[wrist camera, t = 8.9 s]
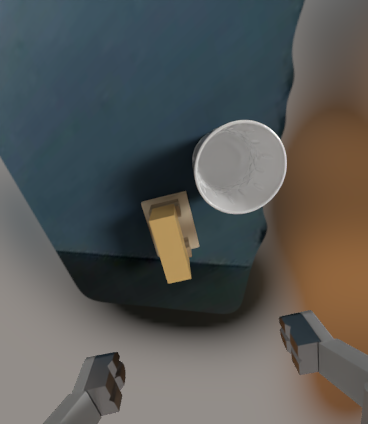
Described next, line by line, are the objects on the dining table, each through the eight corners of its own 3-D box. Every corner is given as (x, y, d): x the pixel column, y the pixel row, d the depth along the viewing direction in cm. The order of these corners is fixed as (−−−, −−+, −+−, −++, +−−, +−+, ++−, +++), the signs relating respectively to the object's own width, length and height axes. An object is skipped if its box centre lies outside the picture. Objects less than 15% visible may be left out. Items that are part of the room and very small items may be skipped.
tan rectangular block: (151, 208, 26) (147, 221, 22) (174, 203, 26) (174, 215, 22) (168, 264, 28) (167, 283, 25) (188, 259, 28) (191, 278, 24)
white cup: (188, 190, 29) (195, 216, 20) (186, 127, 27) (192, 122, 17) (247, 187, 30) (282, 212, 20) (251, 124, 27) (292, 117, 18)
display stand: (141, 201, 30) (137, 211, 26) (185, 190, 29) (187, 198, 26) (158, 253, 32) (156, 268, 28) (198, 243, 32) (202, 257, 28)
